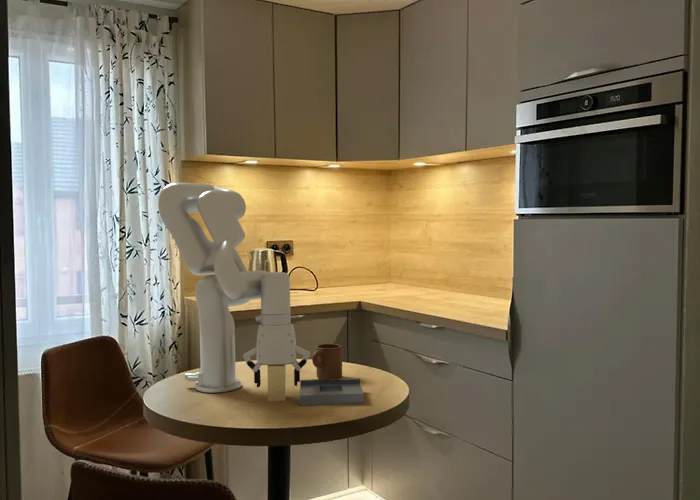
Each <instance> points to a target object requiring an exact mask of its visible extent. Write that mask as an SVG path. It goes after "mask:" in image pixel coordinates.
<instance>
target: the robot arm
mask: <svg viewBox="0 0 700 500" xmlns="http://www.w3.org/2000/svg"><path fill="white" fill-rule="evenodd" d="M157 206H158V213H159V216H160V219H161V221H162V223H163V224H164V226H165V228H166V229H167V231H168V232H169V233H170V236H172V239H173V240H174V243H175V245H176V247H177V249H178V251H179V253H180V255H181V257H182V260H183V261H184V263H185V265H186V268H187V269H188V271H189V272H190V273H191V274H192V275H195V276H203V277H202V278H201V279H199V280H198V282H197V283H196V285H195V290H194V295H195V301H196V305H197V310H198V319H199V320H198V321H199V347H200V348H199V353H200V354H199V355H200V371H196V373H192V372H190V373H187V372H186V373H185V374H184V379H185V381H187V382H196V383H195V388H194V389H195V390H197V391H198V392H202V393H213V394H214V393H226V392H231V391H235V390H237V389H239V388H241V386H242V381H241V380H240V379H238V378H236V339H235V338H236V337H235V335H236V333H235V330H236V329H235V320H234V317H233V315H232V313H231V311H230V309H229V308H231V307H236V306H242V305H246V304H247V303H249V302H250V301H251V300H259V299H260V315H256V316H255V322H259V323H260V324H259V325H258V328H257V333H256V334H257V335H256V346H255V347H254V348H252V349H251V350H248V351H247V352H245V353H243V355H242V357H243V359H244V361H245V363H246V365H247V366H248V367H249V368H250V369H251V370H252V371H253V376H254V377H253V378H254V379H253V381H254V384H256V388H260V387H261V382H262V381H261V370H260V368H261V367H262V366H268V365H286V366H288V365H292V366H293V368H294V369H293V381H294V382H293V383H294V384H293V385H294V386H295V387H297V386H298V383H300V380H301V377H300V376H301V374H300V373H301V372H300V371H301V369H302V368H303V367H304V366H305V365H306V364H307V362H308V360H309V358H310V355H311V353H310V351H308V350H307V349H305V348H303V347H300V346H298V345H297V340H296V332H295V326H294V324H293V323H291V319H292V318H291V281H290V275H289V274H288V273H287V272H283V271H272V272H271V271H266V270H261V269H260V270H247V268H246V266H245V264H244V261H243V260H242V257H241V256H240V254H239V252H238V250H237V249H236V248H237V247H238V246H239V245H241V244H242V242H243V241H244V240H245V239H246V238H245V237H246V233H245V230H244V229H243V227H242V225H241V223H240V221H239V220H240V219H242V218H243V217H244V215H245V213H246V210H247V204H246V201H245V199H244V197H243V196H242V195H241V194H240V193H239V192H237V191H235V190H231V189H228V188H225V187H224V188H223V187H221V186H216V185H212V184H209V183H208V184H206V183H196V182H195V183H193V182H192V183H191V182H172V183H168V184H167V185H166V186H165V185H164V187H163V188H162V189H161V191H160V193H159V197H158V203H157ZM189 213H199V214H200V216H201V220H202V221H203V223H204V225H205V227H206V228H207V231H208V233H209V235H210V236H211V237H210V238H211V239H212V240H213V241H212V240H210V239H209V238H208V237H207V235H206V234H205V231H204V229H203V227H202V225H200V223H199V222H198V221H197V220H196V219H195V218H194V217H192V216H191V215H190V214H189ZM297 353H298V354H300V355H301V356H303V357H302V359H301V360H300V361H299V362H298V360H297ZM255 354H256V355H255ZM254 355H255V356H256V363H255V362H254V361H253V360H251V356H254Z"/></svg>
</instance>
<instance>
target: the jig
mask: <svg viewBox="0 0 700 500" xmlns="http://www.w3.org/2000/svg"><path fill="white" fill-rule="evenodd" d="M299 383H300V386H299V406H326V405H357V404H358V405H359V404H361V405H362V404H364V397H365V396H364V395H365V394H364V390H363V388H362V385H361V378H359V377H354V378H353V377H352V378H340V379H318V378H316V379H300V382H299Z"/></svg>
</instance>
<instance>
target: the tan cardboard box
mask: <svg viewBox="0 0 700 500" xmlns="http://www.w3.org/2000/svg"><path fill="white" fill-rule="evenodd" d="M286 366H287V365H267V401H268V402H283V401H284V402H285V401H286V398H287V379H286V378H287V376H286V375H287V373H286V368H287V367H286Z"/></svg>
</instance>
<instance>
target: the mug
mask: <svg viewBox="0 0 700 500" xmlns="http://www.w3.org/2000/svg"><path fill="white" fill-rule="evenodd" d="M342 348H343V347H342V345H340V344H336V343H322V344H318V345H316V350H315V351H314V352H313V354H312V357H311V358H312V359H311V360H312V365H313V366H314V367H315V368H316V379H342V377H343V349H342Z"/></svg>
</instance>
